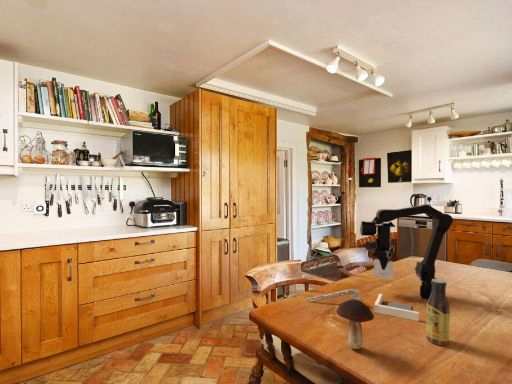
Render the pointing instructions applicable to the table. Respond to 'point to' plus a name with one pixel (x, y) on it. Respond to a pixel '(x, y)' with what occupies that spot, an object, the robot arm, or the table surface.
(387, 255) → the robot arm
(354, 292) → the bracket
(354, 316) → the decorative mushroom
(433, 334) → the sauce bottle
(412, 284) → the table surface
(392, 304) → the pad
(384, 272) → the aluminium bracket
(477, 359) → the table surface
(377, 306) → the white l-shaped block
